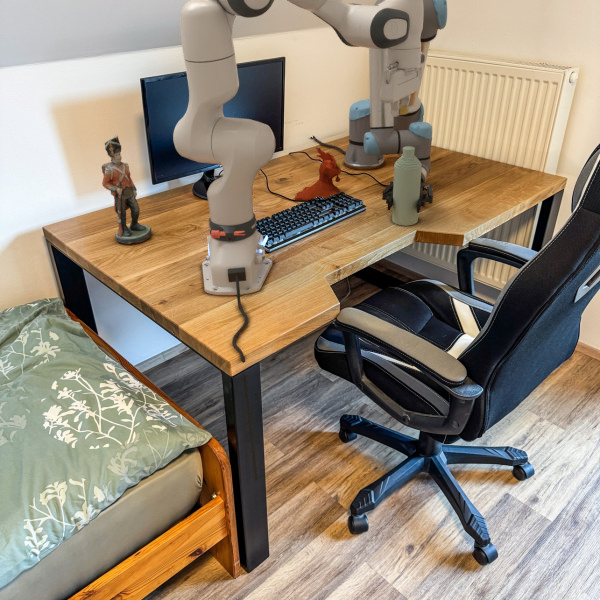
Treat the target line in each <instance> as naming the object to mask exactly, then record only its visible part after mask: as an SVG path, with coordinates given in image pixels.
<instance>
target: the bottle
mask: <svg viewBox="0 0 600 600" xmlns="http://www.w3.org/2000/svg"><path fill="white" fill-rule="evenodd" d="M414 151H415V148H414V147H411V146H406V147H403V154H401V156H400V157H398V159H397V160H396V161H394V165H393V182H394V184H393V205H392V207H391V210H392V214H391V215H392V216H391V222H392V223H393V224H395V225H398V226H412V225H416V224H417V223H418V222H419V213H417V203H418V201H419V197H420V182H421V167H422V164H421V162H420V161H419V160H418V159H417V157H416V156H415V155H414Z"/></svg>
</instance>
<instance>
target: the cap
mask: <svg viewBox="0 0 600 600" xmlns="http://www.w3.org/2000/svg"><path fill="white" fill-rule="evenodd" d="M399 109H400V115H405V114H407V113H408V106H407V105H402V104H399ZM391 113H392V109H391Z"/></svg>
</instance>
